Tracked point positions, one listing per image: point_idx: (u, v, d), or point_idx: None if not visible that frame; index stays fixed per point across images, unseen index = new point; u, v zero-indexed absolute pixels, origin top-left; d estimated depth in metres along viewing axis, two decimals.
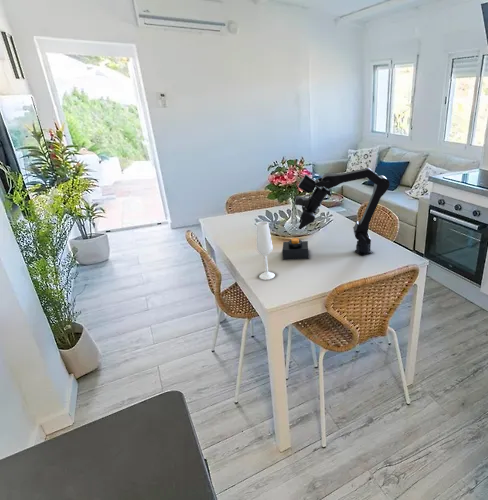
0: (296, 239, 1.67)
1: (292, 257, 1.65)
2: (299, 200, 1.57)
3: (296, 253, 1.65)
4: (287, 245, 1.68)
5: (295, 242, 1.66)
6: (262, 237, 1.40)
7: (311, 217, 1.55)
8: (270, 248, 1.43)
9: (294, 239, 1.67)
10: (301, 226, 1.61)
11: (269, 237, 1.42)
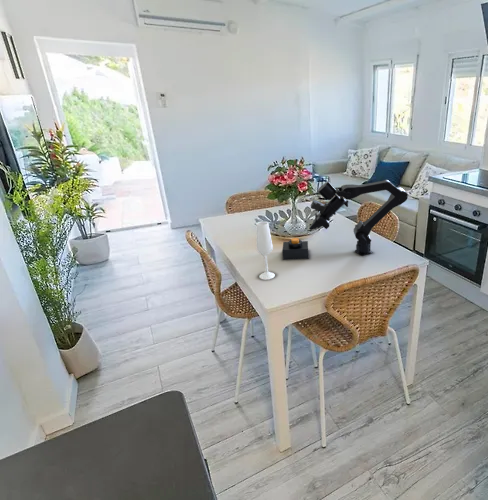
0: (296, 239, 1.67)
1: (292, 257, 1.65)
2: (317, 205, 1.57)
3: (296, 253, 1.65)
4: (287, 245, 1.68)
5: (295, 242, 1.66)
6: (262, 237, 1.40)
7: (326, 224, 1.56)
8: (270, 248, 1.43)
9: (294, 239, 1.67)
10: (312, 227, 1.65)
11: (269, 237, 1.42)
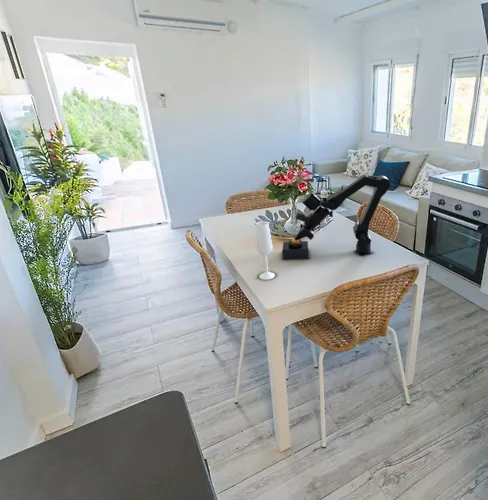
0: (296, 240, 1.67)
1: (292, 257, 1.65)
2: (301, 216, 1.59)
3: (296, 253, 1.65)
4: (287, 245, 1.68)
5: (295, 243, 1.66)
6: (262, 237, 1.40)
7: (310, 235, 1.57)
8: (270, 248, 1.43)
9: (294, 240, 1.67)
10: (298, 237, 1.66)
11: (269, 237, 1.42)
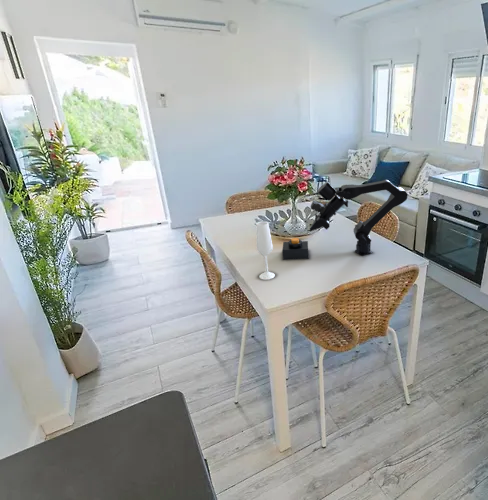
0: (296, 239, 1.67)
1: (292, 257, 1.65)
2: (317, 205, 1.58)
3: (296, 253, 1.65)
4: (287, 245, 1.68)
5: (295, 242, 1.66)
6: (262, 237, 1.40)
7: (326, 224, 1.56)
8: (270, 248, 1.43)
9: (294, 239, 1.67)
10: (313, 228, 1.65)
11: (269, 237, 1.42)
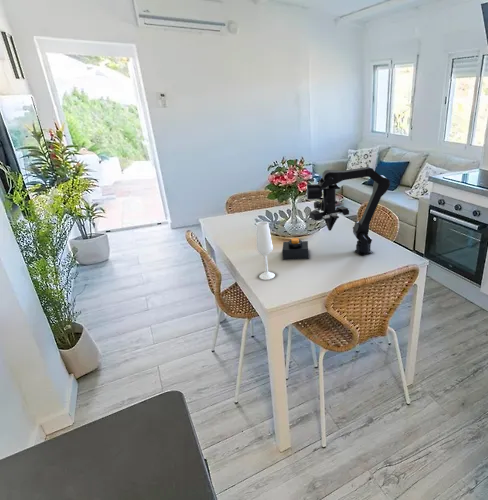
0: (296, 239, 1.67)
1: (292, 257, 1.65)
2: (314, 204, 1.64)
3: (296, 253, 1.65)
4: (287, 245, 1.68)
5: (295, 242, 1.66)
6: (262, 237, 1.40)
7: (313, 215, 1.56)
8: (270, 248, 1.43)
9: (294, 239, 1.67)
10: (328, 227, 1.64)
11: (269, 237, 1.42)
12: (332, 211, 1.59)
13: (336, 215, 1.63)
